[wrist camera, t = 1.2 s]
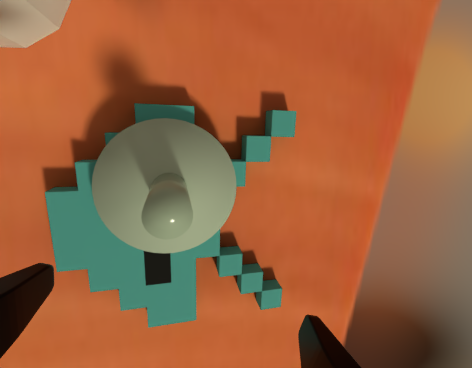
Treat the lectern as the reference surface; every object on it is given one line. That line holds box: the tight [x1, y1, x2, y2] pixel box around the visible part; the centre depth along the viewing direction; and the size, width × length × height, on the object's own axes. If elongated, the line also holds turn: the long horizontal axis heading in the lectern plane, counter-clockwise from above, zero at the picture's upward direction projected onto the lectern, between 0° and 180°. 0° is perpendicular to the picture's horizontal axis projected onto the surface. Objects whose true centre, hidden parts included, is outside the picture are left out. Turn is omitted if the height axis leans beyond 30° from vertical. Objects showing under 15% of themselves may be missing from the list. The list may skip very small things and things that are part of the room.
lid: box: [92, 118, 236, 253], centre depth 17 cm, size 11×11×7 cm
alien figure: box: [45, 103, 296, 327], centre depth 22 cm, size 20×2×20 cm
